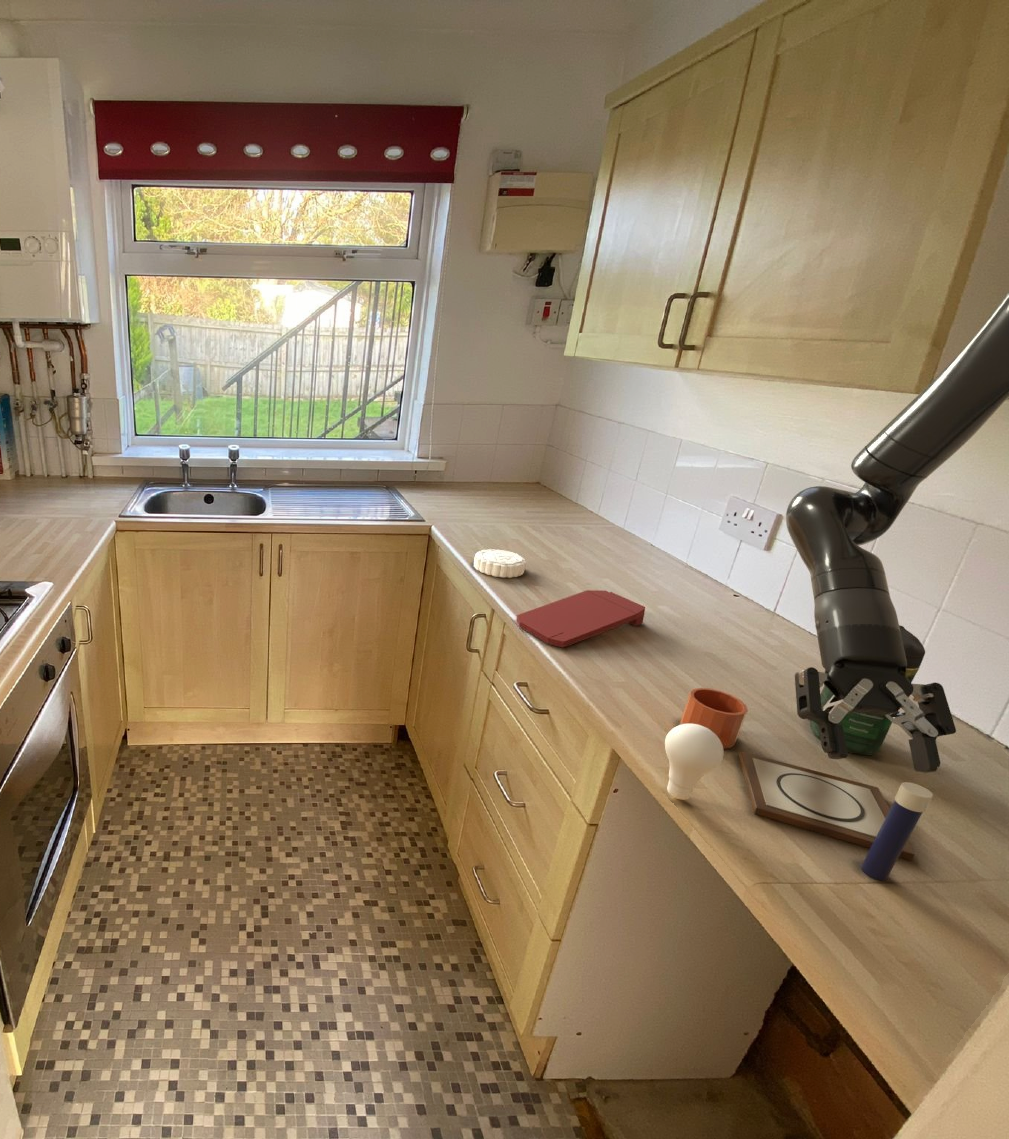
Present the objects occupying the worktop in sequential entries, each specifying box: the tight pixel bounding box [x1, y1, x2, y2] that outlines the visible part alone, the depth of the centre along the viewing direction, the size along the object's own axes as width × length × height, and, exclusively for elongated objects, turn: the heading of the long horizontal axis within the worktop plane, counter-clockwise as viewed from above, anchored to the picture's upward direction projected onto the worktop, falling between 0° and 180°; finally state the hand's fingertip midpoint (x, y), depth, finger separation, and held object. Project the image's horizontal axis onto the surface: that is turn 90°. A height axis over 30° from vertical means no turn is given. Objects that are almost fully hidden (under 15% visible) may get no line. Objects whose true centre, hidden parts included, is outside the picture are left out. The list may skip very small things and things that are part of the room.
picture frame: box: [738, 751, 916, 861], centre depth 81 cm, size 15×13×1 cm
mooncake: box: [473, 548, 527, 579], centre depth 157 cm, size 12×12×4 cm
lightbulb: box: [664, 724, 725, 801], centre depth 80 cm, size 6×6×11 cm
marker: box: [860, 781, 934, 881], centre depth 69 cm, size 2×2×12 cm
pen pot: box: [679, 687, 749, 750], centre depth 94 cm, size 7×7×6 cm
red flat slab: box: [516, 589, 646, 648], centre depth 128 cm, size 12×5×25 cm
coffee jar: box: [809, 624, 926, 756], centre depth 91 cm, size 10×8×19 cm
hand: (881, 764), depth 72 cm, fingers open, 8 cm apart
